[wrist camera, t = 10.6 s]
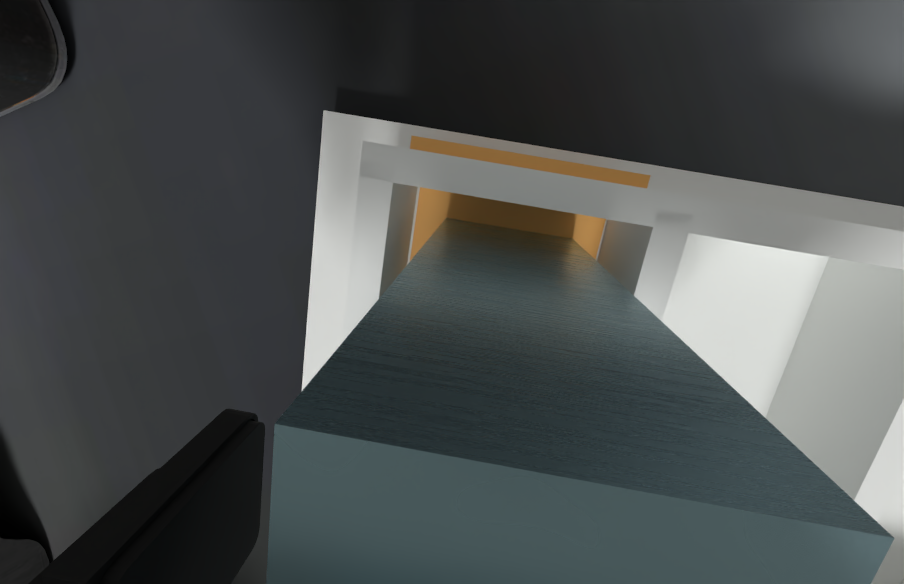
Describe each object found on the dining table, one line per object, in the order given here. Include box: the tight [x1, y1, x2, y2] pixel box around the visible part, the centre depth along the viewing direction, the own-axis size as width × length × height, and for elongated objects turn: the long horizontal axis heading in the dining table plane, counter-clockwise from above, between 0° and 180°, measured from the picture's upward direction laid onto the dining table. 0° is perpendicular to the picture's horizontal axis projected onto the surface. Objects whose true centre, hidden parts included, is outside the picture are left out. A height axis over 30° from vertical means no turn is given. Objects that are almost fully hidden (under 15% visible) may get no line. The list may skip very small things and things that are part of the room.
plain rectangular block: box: [266, 218, 894, 584], centre depth 10 cm, size 4×10×12 cm, turn 171°
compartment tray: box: [302, 110, 904, 584], centre depth 14 cm, size 26×15×5 cm, turn 81°
